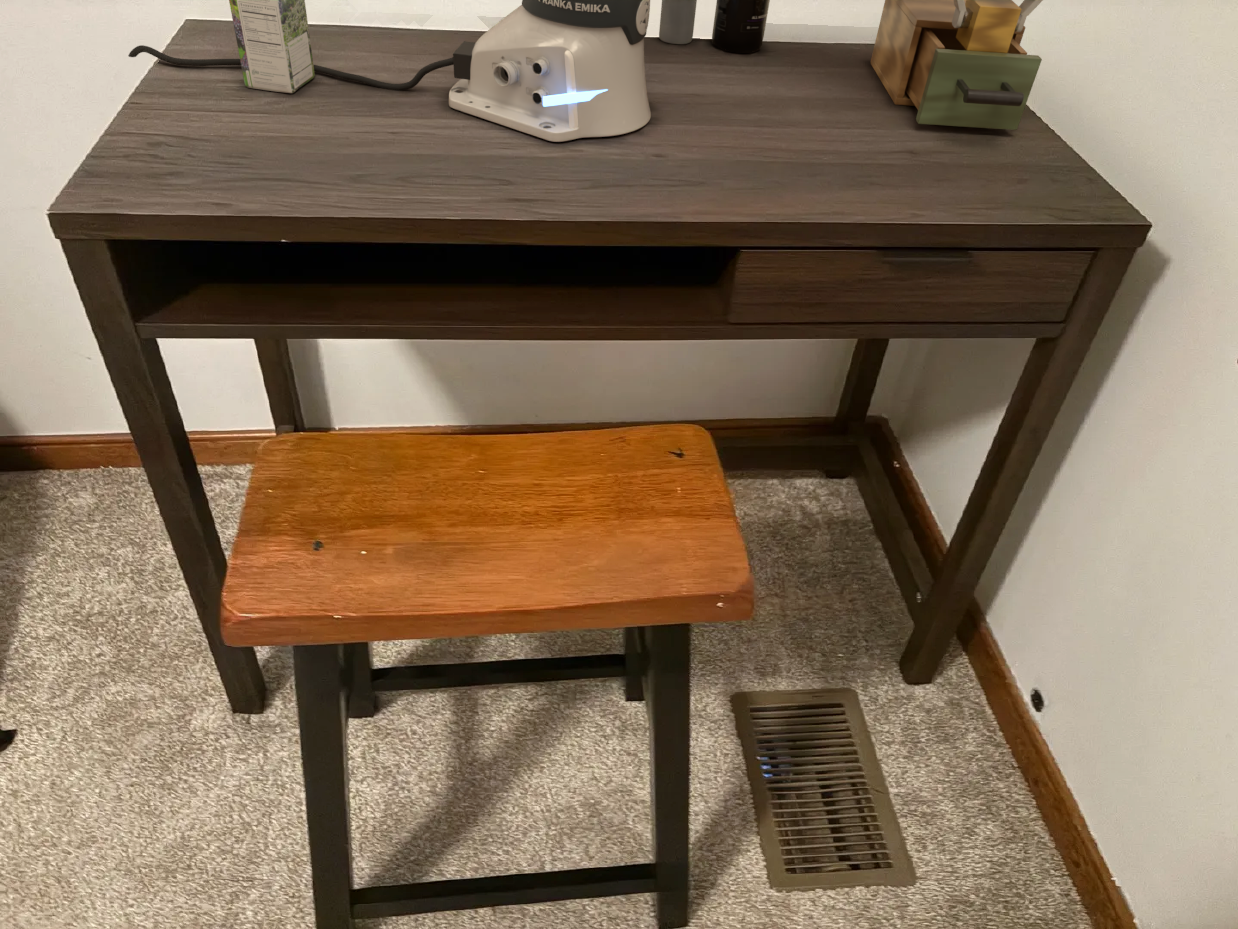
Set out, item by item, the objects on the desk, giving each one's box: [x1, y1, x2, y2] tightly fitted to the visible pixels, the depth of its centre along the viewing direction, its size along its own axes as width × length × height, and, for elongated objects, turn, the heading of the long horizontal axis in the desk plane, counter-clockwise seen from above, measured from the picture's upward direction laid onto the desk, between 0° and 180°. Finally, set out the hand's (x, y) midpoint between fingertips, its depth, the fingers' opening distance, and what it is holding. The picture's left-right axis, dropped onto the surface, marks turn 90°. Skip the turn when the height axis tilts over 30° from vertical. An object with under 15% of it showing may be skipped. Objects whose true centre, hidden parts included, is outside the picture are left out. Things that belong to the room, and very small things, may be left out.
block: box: [956, 0, 1022, 53], centre depth 101 cm, size 4×4×4 cm
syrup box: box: [228, 0, 316, 94], centre depth 99 cm, size 6×6×14 cm
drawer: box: [905, 27, 1042, 131], centre depth 105 cm, size 18×11×8 cm, turn 0°
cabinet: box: [870, 0, 1026, 107], centre depth 113 cm, size 15×13×10 cm
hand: (985, 28), depth 101 cm, fingers closed on block, 4 cm apart
